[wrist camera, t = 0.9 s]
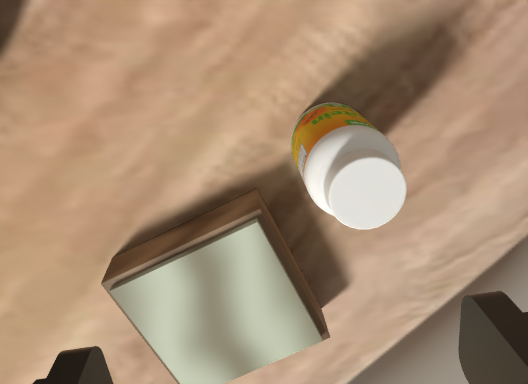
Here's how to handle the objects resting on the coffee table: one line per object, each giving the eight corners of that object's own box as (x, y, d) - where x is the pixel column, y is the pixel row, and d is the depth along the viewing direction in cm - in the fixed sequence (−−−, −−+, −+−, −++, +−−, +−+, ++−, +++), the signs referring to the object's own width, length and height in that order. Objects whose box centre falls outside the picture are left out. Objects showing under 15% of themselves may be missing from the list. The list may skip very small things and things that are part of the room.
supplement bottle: (366, 97, 30) (425, 137, 21) (365, 172, 32) (418, 236, 24) (287, 104, 30) (312, 148, 21) (291, 179, 32) (316, 247, 23)
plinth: (257, 188, 32) (260, 212, 29) (321, 308, 37) (331, 342, 33) (112, 257, 34) (98, 288, 30) (192, 365, 38) (188, 404, 34)
